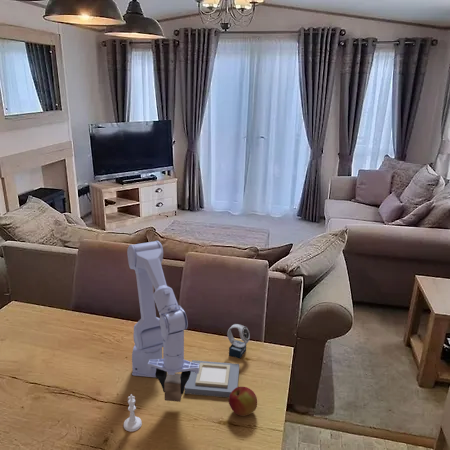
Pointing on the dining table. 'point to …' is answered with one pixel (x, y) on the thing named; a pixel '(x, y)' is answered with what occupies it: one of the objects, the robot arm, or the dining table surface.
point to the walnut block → (173, 387)
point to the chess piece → (132, 416)
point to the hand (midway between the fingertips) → (173, 390)
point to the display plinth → (213, 379)
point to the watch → (237, 346)
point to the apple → (243, 401)
